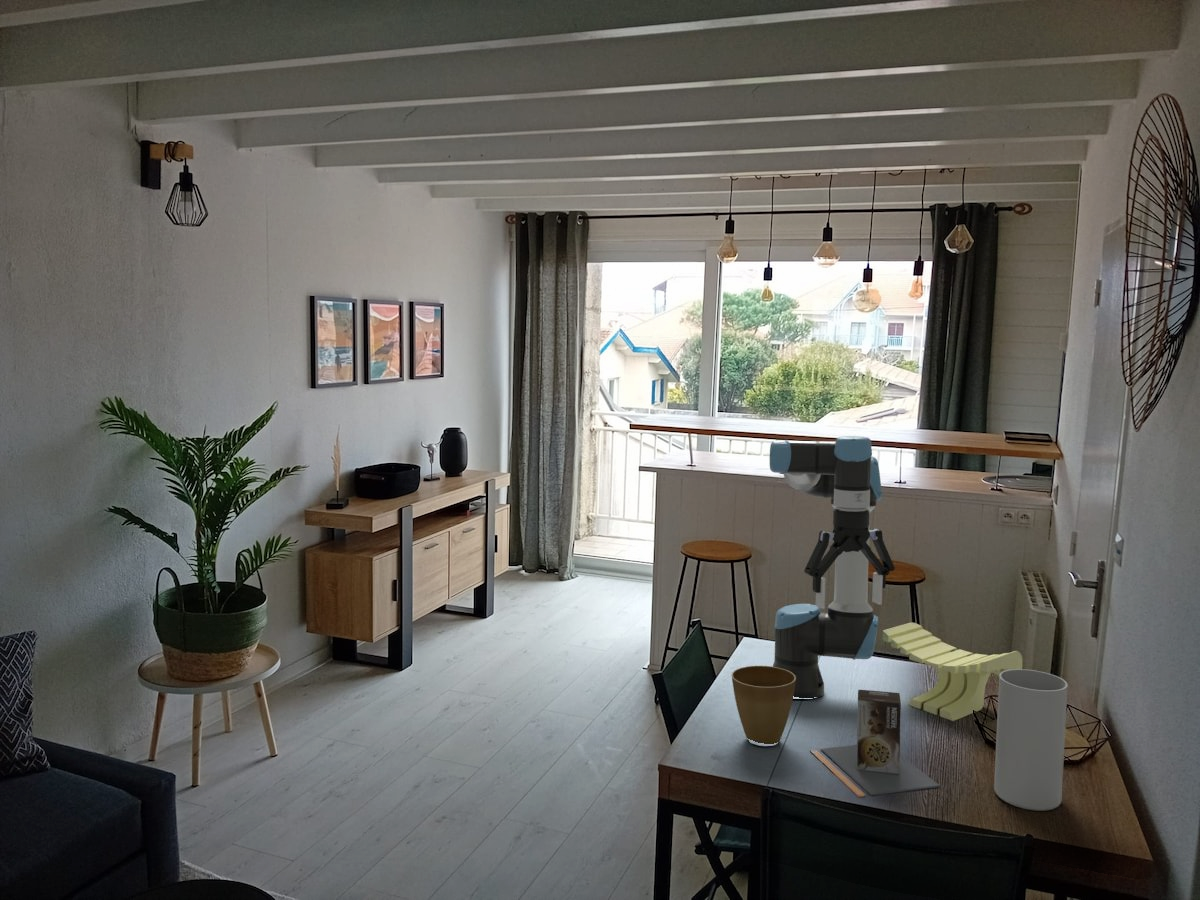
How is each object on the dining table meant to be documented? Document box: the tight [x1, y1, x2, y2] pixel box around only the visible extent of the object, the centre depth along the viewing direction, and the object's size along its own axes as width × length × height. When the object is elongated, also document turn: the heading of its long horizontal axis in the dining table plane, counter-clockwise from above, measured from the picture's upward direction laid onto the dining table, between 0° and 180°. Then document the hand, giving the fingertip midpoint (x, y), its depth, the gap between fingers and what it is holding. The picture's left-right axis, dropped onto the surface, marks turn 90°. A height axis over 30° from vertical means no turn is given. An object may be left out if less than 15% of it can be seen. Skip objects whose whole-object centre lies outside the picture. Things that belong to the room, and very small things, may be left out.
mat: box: [820, 744, 940, 796], centre depth 196 cm, size 22×16×1 cm
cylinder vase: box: [993, 668, 1069, 812], centre depth 182 cm, size 12×12×25 cm
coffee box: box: [856, 689, 902, 774], centre depth 195 cm, size 9×6×16 cm
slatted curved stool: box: [881, 622, 1023, 722], centre depth 231 cm, size 30×16×18 cm, turn 36°
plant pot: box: [731, 665, 796, 744], centre depth 209 cm, size 15×15×16 cm
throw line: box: [812, 749, 866, 798], centre depth 194 cm, size 22×2×1 cm, turn 13°
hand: (848, 605), depth 193 cm, fingers open, 13 cm apart
